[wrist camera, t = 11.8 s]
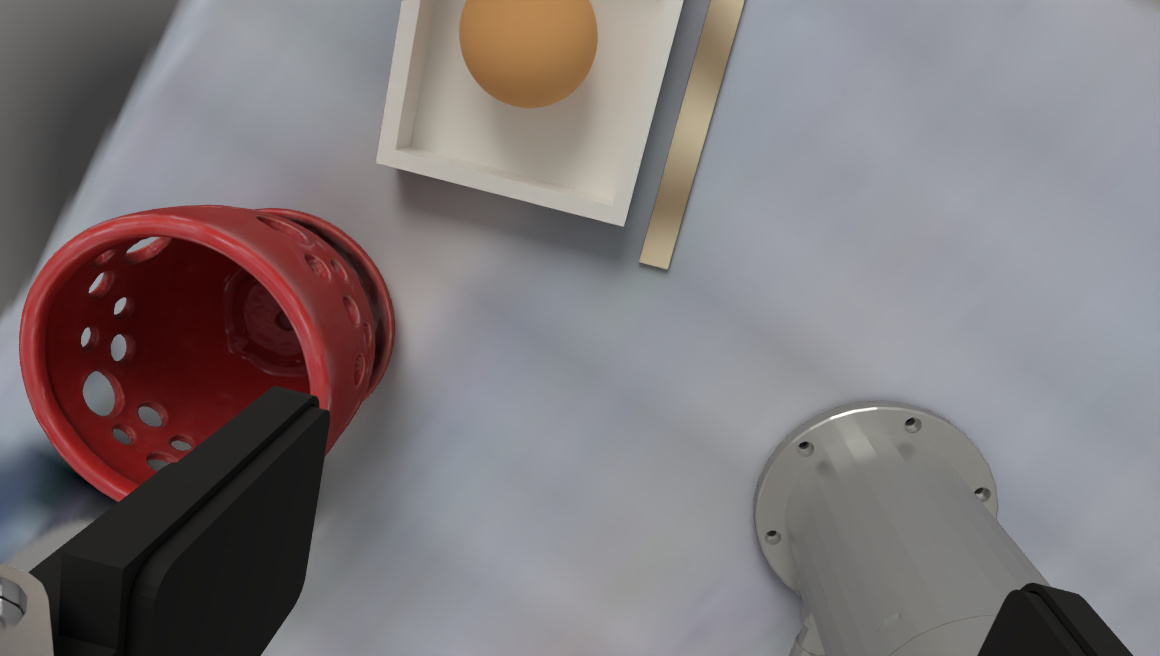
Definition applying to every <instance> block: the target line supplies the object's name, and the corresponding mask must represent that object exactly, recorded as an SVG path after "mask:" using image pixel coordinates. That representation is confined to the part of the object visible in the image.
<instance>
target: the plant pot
mask: <svg viewBox="0 0 1160 656" xmlns="http://www.w3.org/2000/svg"><path fill="white" fill-rule="evenodd" d="M149 237H159V238H157V239H156V240H155V241H153V242H152V243H150V244H149V245H147V246H145V247H143V248H141V249H139V250H136V251H134V252H130V253H126V252H127V250H128V249H130V248H131V247H132V246H133V245H134V244H136V243H138V242H139V241H140V240H143V239H147V238H149ZM103 272H104V274H103V277H102V280H101V282H100V283H99V285H98V286H97V288H96V289H95V290H94V291H92V292H91V293H89V288H90V287H91V285H92V284H93V282H94V281H95V279H96V278H97V277H98V275H100V274H101V273H103ZM123 297H126V299H127V300H126V304H125V307H124V308H123V310H122V311H121V312H120V313H119V314H117V315H114V307H115V304H116V302H117V301H118V300H119V299H121V298H123ZM87 327H89V328H90V331H91V335H90V339H89V341H88V343H87V344H86V345H85V346H84V347H82V345H81V336H82V333H83V331H84V330H85V328H87ZM118 334H121V335H122V336H123V337H124V338H125V341H126V346H127V348H126V352H125V355H124V357H123V358H122V359H121V360H120V361H115V360H114V359H113V357H112V355H111V343H112V341H113V338H114V337H115V336H116V335H118ZM394 335H395V321H394V311H393V306H392V302H391V298H390V295H389V292H388V289H387V287H386V284H385V282H384V280H383V277H382V276H381V274H380V272H379V270H378V268H377V267H376V265H375V264H374V262H373V261H372V259H371V258H370V257H369V256H368V254H367V253H366V252H365V251H364V250H363V249H362V248H361V246H360V245H359V244H357V243H356V242H355V241H354V240H353V239H352V238H351V237H349V236H348V235H347V234H346V233H344V232H343V231H342V230H340V229H339V228H337V227H335V226H334V225H332V224H331V223H329V222H327V221H325V220H323V219H321V218H318V217H316V216H313V215H310V214H307V213H304V212H300V211H295V210H289V209H279V208H264V209H255V210H252V209H246V208H237V207H230V206H223V205H196V206H177V207H168V208H159V209H152V210H147V211H142V212H137V213H132V214H128V215H123V216H120V217H116V218H112V219H110V220H107V221H104V222H101V223H99V224H97V225H95V226H92V227H90V228H88V229H87V230H85V231H83V232H82V233H80V234H78V235H77V236H75V237H74V238H73V239H71V240H70V241H68V242H67V243H66V244H64V245H63V246H62V247H61V248H60V249H59V250H58V251H57V252H55V253H54V255H53V256H52V257H51V258H50V259H49V260H48V262H47V263H46V264H45V266H44V267H43V269H42V270H41V271H40V273H39V274H38V276H37V278H36V279H35V281H34V283H33V285H32V287H31V288H30V291H29V293H28V296H27V299H26V302H25V305H24V308H23V312H22V319H21V326H20V334H19V355H20V366H21V371H22V377H23V381H24V385H25V389H26V393H27V396H28V399H29V401H30V404H31V407H32V409H33V412H34V414H35V416H36V418H37V420H38V422H39V424H40V425H41V427H42V428H43V430H44V432H45V433H46V435H47V437H48V438H49V440H50V442H51V443H52V445H53V446H54V447H55V449H56V450H57V451H58V453H59V454H60V455H61V456H62V458H63V459H64V460H65V461H66V462H67V463H68V464H69V465H70V466H71V467H72V468H73V469H74V470H75V471H76V472H77V473H78V474H80V475H81V476H82V477H83V478H84V479H85V480H86V481H88V482H89V483H90V484H91V485H93V486H94V487H95V488H97V489H98V490H99V491H101V492H103V493H104V494H106V495H107V496H109V497H111V498H112V499H114V500H116V501H117V502H119V501H121V500H122V499H123V498H124V497H126V496H127V495H128V494H130V493H131V492H132V491H133V490H135V489H136V488H137V487H139V486H140V485H141V484H142V483H144V482H145V481H146V480H148V479H149V478H150V477H151V476H153V475H154V474H155V473H157V472H158V471H155V470H154V469H152V468H151V467H150V466H149V465H148V462H147V461H149V460H155V459H156V460H161V461H164V462H167V463H169V464H170V463H172V462H178V461H179V460H180V459H181V458H183V457H184V456H185V455H187V454H188V453H189V452H190V451H192V450H193V449H194V448H195V447H197V446H198V445H199V444H200V443H202V442H203V441H204V440H206V439H207V438H208V437H209V436H211V435H212V434H213V433H214V432H216V431H217V430H218V429H219V428H221V427H222V426H223V425H225V424H226V423H227V422H228V421H230V420H231V419H232V418H233V417H235V416H236V415H237V414H238V413H240V412H241V411H242V410H244V409H245V408H246V407H247V406H249V405H250V404H251V403H252V402H254V401H255V400H256V399H257V398H259V397H260V396H261V395H263V394H264V393H265V392H266V391H268V390H269V389H270V388H272V387H274V386H279V387H283V388H287V389H290V390H294V391H298V392H302V393H306V394H310V395H313V396H317V397H318V399H319V405H320V407H319V408H321V409H325V410H329V412H330V426H329V432H328V438H327V444H326V451H325V456H326V455H327V453H328V452H329V451H330V450H331V448H332V447H333V446H334V444H335V442H336V441H337V439H338V438H339V436H340V435H341V434H342V432H343V431H344V430H345V428H346V427H347V426H348V424H349V423H350V421H351V420H352V418H353V417H354V415H355V414H356V412H357V410H358V409H359V407H360V405H361V403H362V401H364V400H365V399H366V398H367V397H368V396H369V395H370V394H371V393H372V392H373V390H374V389H375V388H376V386H377V385H378V383H379V382H380V380H381V378H382V377H383V375H384V373H385V371H386V369H387V366H388V363H389V361H390V357H391V354H392V350H393V344H394ZM94 371H98V372H100V373H102V374H103V375H104V376H105V377H106V378H107V379H108V380H109V382H110V384H111V386H112V388H113V391H114V395H115V404H114V408H113V410H112V411H111V413H110V414H109V415H107V416H100V415H97V414H96V413H94V412H93V411H92V410H91V409H90V408H89V407H88V406H87V404H86V402H85V400H84V397H83V386H84V383H85V381H86V379H87V377H88V376H89V375H90V374H91V373H92V372H94ZM143 406H146V407H150V408H152V409H153V410H155V411H156V412H157V413H158V414H159V416H160V417H161V421H162V423H161V426H158V427H153V426H149V425H147V424H145V423H144V422H142V420H141V419H140V417H139V414H138V410H139V408H140V407H143ZM113 429H119V430H121V431H123V432H125V433H126V434H127V435H128V437H129V439H130V444H128V445H127V444H123V443H120V442H119V441H118V440H116V438H115V437H114V435H113ZM177 440H179V441H182V442H186V443H188V444H189V445H191V447H192V448H191V449H189V450H187V451H180V450H177V449H175V448H174V447H172V445H171V442H173V441H177Z"/></svg>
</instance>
